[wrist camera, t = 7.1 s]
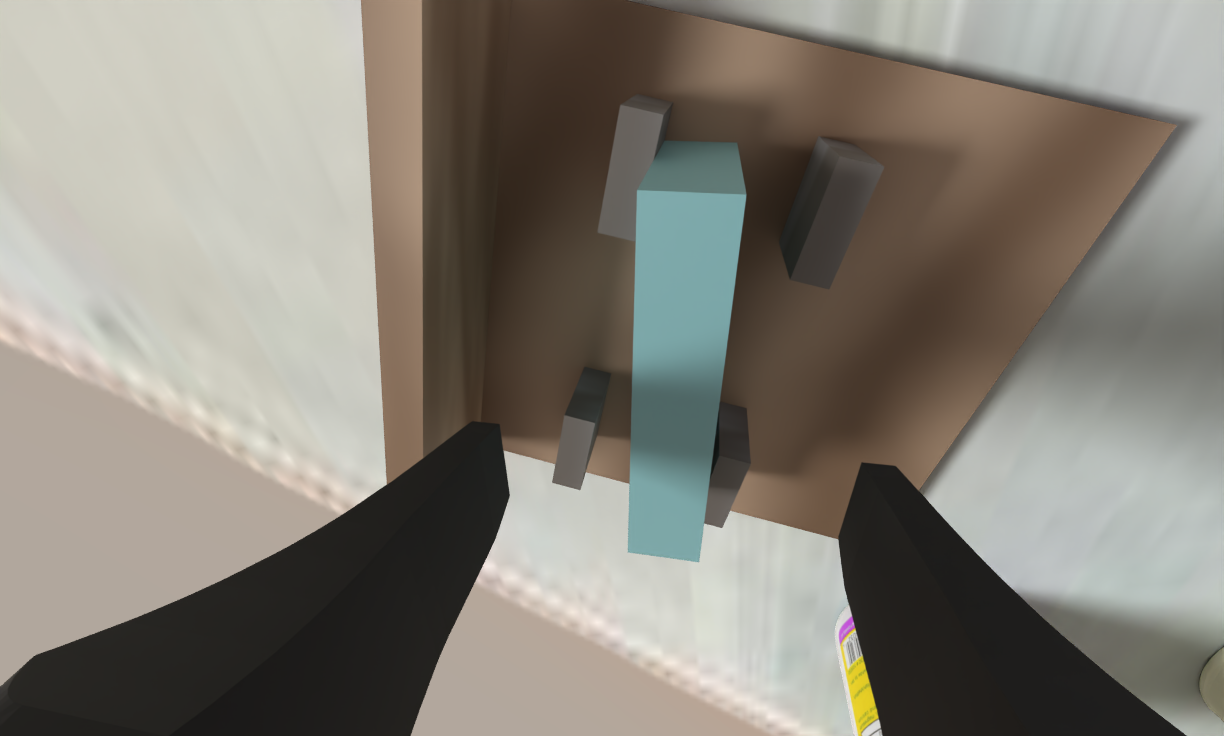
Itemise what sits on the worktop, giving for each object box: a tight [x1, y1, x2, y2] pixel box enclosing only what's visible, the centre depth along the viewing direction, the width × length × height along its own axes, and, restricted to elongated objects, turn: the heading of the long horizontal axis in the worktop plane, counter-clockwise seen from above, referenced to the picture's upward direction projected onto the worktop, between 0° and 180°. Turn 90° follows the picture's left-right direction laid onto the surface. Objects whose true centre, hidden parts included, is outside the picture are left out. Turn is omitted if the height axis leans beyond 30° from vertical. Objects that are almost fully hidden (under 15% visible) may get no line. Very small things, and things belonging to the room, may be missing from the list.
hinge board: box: [361, 0, 1177, 539], centre depth 16 cm, size 18×16×6 cm
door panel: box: [628, 141, 746, 562], centre depth 15 cm, size 2×10×6 cm, turn 0°
